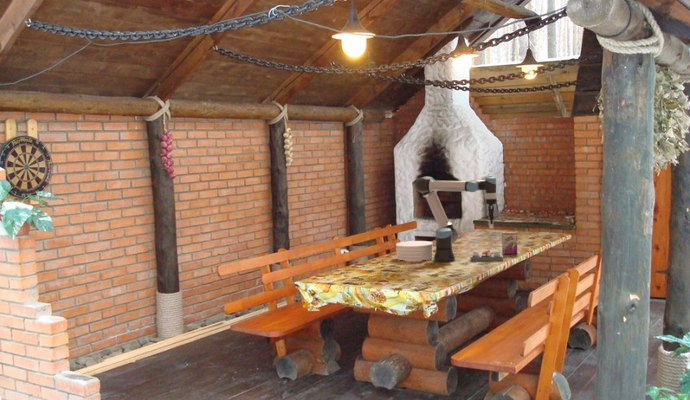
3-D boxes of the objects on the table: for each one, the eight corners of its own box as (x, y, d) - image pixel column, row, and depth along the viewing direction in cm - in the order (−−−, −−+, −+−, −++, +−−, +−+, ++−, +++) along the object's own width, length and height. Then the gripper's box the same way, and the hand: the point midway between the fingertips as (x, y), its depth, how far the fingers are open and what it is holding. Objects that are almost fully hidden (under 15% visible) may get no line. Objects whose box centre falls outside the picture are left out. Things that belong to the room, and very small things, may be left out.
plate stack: (432, 261, 499) (431, 246, 498) (394, 262, 505) (393, 246, 504) (434, 255, 527) (434, 240, 526) (398, 255, 532) (398, 241, 531)
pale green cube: (494, 257, 489) (494, 251, 489) (494, 256, 492) (494, 250, 492) (499, 256, 488) (499, 251, 488) (499, 256, 492) (499, 250, 491)
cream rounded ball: (473, 257, 492) (473, 251, 492) (473, 256, 496) (473, 251, 495) (478, 257, 491) (478, 251, 491) (478, 256, 495) (478, 250, 495)
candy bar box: (502, 254, 514) (501, 232, 513) (502, 253, 519) (501, 231, 517) (517, 254, 511) (516, 232, 510) (517, 253, 516) (517, 231, 514)
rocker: (483, 255, 490) (482, 253, 490) (483, 254, 494) (482, 252, 494) (490, 253, 489) (489, 250, 489) (490, 252, 493) (489, 249, 493)
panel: (470, 261, 490) (470, 255, 490) (470, 259, 498) (470, 253, 498) (503, 260, 486) (502, 254, 485) (502, 258, 494) (502, 253, 493)
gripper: (497, 200, 481) (497, 229, 483) (495, 196, 506) (495, 225, 508) (486, 200, 483) (486, 229, 485) (485, 197, 507) (485, 225, 509)
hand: (491, 227), depth 496 cm, fingers open, 13 cm apart
